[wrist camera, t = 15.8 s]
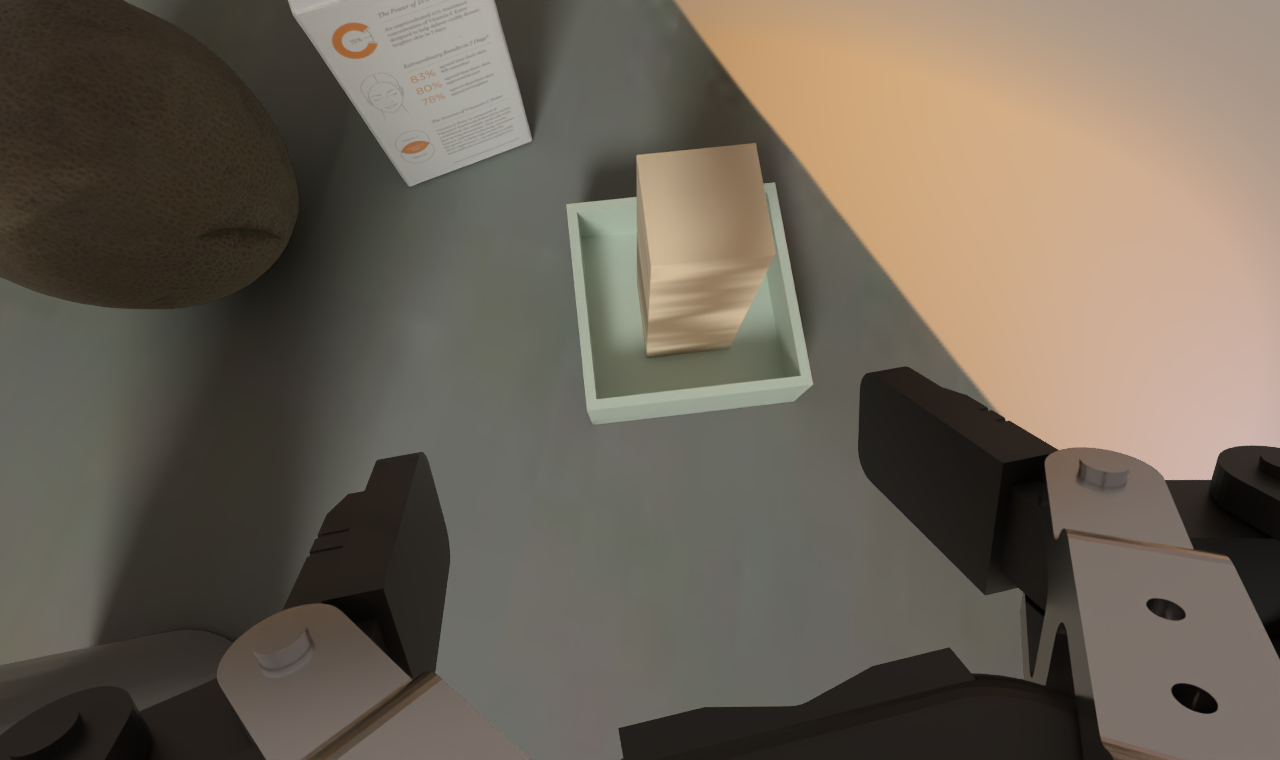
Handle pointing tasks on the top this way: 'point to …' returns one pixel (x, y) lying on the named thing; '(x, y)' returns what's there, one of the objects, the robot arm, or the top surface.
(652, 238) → the birch block
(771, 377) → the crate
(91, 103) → the brown leather ball
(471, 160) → the small box
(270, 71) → the top surface
